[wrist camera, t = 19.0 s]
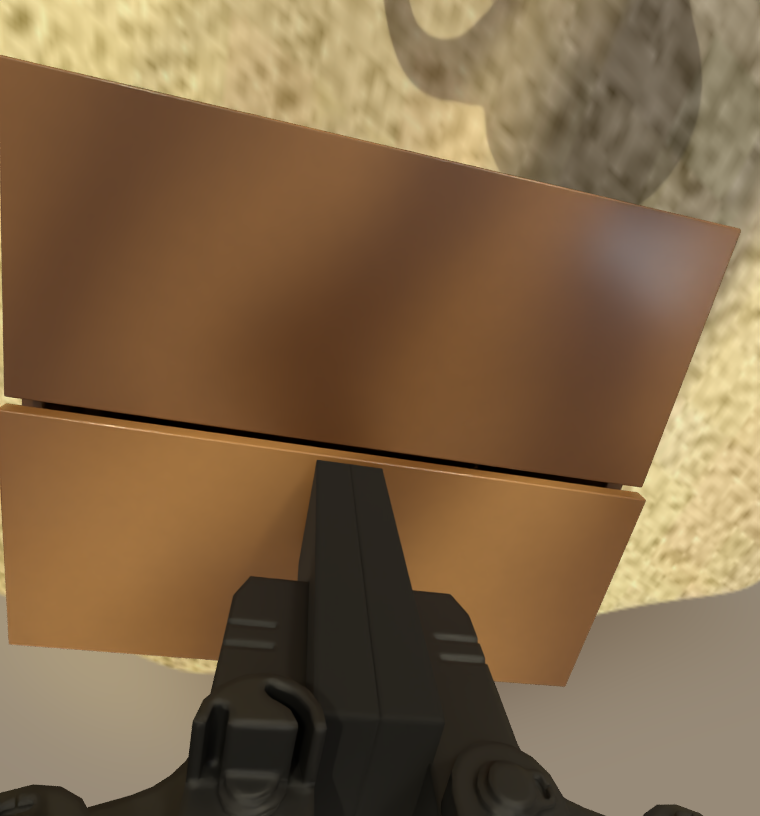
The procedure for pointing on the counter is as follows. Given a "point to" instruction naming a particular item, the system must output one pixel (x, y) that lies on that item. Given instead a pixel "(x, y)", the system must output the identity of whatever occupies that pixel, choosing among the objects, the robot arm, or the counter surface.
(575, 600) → the flap
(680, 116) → the counter surface
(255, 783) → the robot arm
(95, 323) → the carton
